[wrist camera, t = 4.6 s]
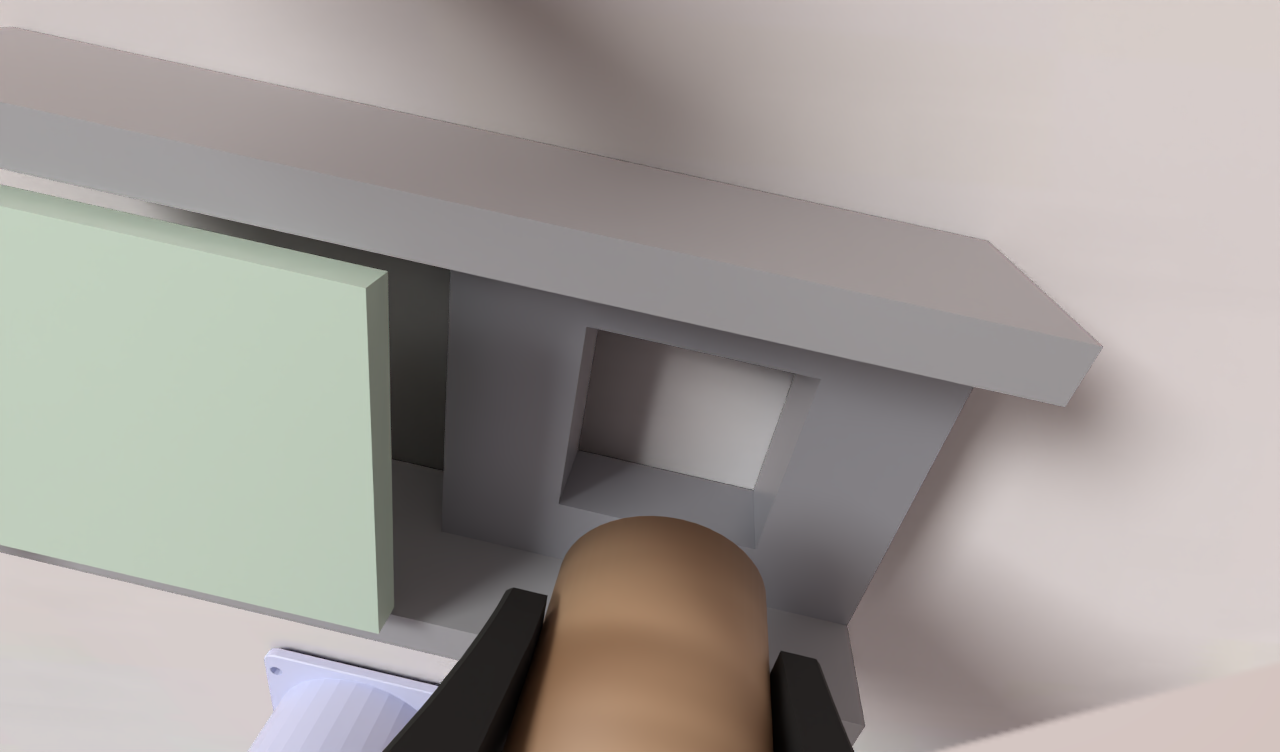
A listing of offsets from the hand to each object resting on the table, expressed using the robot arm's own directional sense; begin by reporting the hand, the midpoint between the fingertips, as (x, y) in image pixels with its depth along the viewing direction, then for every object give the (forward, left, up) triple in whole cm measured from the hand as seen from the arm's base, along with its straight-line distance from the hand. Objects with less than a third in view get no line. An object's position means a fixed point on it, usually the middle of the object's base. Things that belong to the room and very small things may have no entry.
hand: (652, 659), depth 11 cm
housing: (0, +6, -8) cm, 10 cm away
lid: (0, +12, -3) cm, 12 cm away
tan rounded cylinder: (0, 0, -2) cm, 2 cm away
